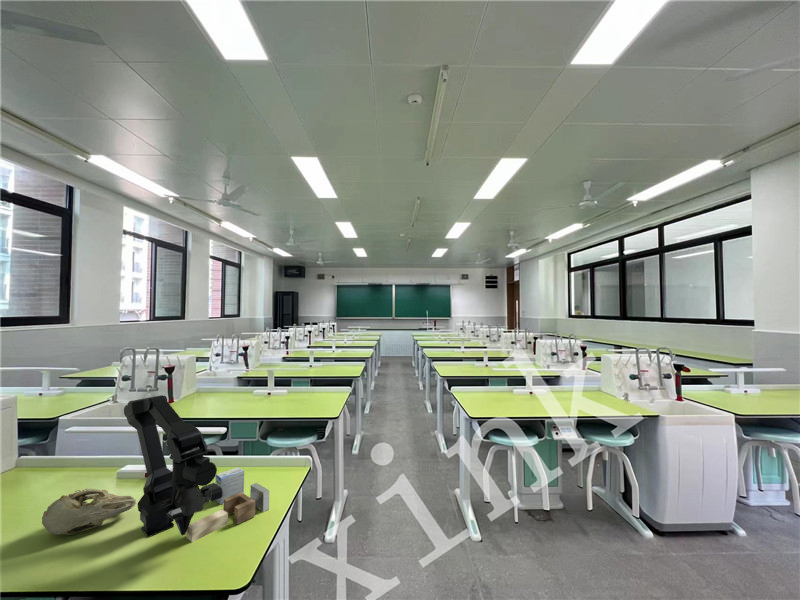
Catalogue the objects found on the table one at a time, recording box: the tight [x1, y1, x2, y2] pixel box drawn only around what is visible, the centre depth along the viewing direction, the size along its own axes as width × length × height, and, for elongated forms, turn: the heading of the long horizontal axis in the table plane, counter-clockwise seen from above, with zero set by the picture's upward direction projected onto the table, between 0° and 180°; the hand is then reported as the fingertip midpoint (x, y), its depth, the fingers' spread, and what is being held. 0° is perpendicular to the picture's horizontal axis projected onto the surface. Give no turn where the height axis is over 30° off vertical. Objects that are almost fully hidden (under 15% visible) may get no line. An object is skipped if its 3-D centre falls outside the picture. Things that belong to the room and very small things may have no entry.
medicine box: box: [215, 467, 245, 505], centre depth 118 cm, size 8×4×9 cm, turn 141°
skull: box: [41, 488, 137, 536], centre depth 102 cm, size 11×20×15 cm
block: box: [185, 509, 229, 543], centre depth 100 cm, size 10×4×4 cm, turn 145°
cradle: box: [222, 492, 256, 525], centre depth 107 cm, size 6×9×4 cm, turn 52°
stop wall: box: [249, 482, 270, 513], centre depth 112 cm, size 2×8×6 cm, turn 52°
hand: (183, 534), depth 94 cm, fingers closed
